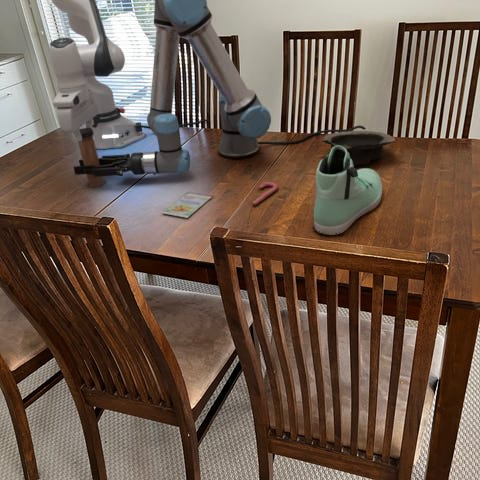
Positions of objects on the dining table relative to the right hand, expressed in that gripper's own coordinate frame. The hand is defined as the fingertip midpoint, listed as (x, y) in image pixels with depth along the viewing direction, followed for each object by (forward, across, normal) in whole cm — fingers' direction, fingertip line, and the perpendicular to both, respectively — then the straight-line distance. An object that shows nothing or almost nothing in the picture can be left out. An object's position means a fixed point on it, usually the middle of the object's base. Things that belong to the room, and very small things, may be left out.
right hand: (77, 167), depth 164 cm
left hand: (-5, 0, +10) cm, 12 cm away
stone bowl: (-97, +11, -6) cm, 98 cm away
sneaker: (-88, -28, -6) cm, 92 cm away
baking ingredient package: (-40, -21, -6) cm, 45 cm away
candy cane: (-63, -16, -6) cm, 65 cm away
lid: (-5, 0, +12) cm, 13 cm away
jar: (-5, 0, -6) cm, 8 cm away
